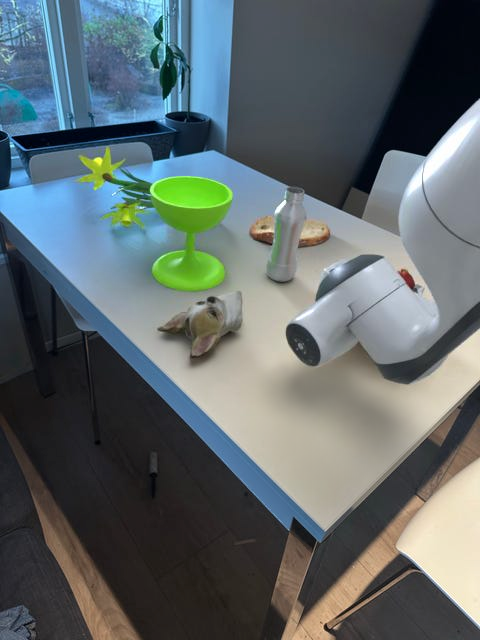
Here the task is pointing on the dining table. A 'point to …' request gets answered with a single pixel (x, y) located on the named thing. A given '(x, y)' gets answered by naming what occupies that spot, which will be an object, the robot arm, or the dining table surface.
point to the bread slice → (310, 234)
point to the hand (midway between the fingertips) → (402, 280)
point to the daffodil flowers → (104, 173)
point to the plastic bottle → (287, 235)
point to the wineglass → (190, 229)
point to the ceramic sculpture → (208, 322)
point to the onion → (407, 277)
